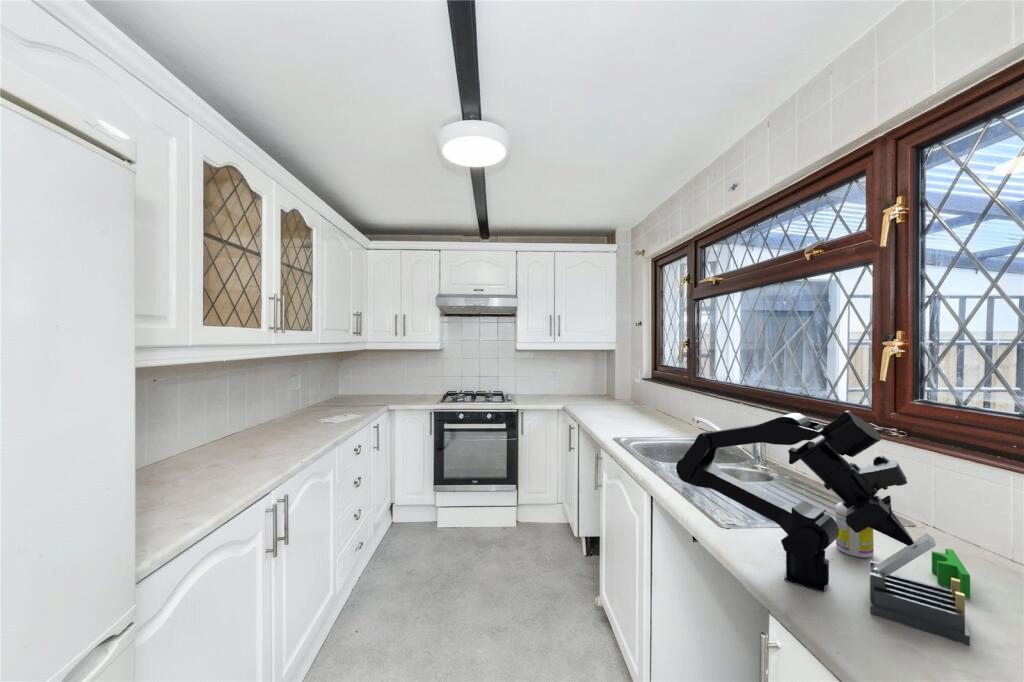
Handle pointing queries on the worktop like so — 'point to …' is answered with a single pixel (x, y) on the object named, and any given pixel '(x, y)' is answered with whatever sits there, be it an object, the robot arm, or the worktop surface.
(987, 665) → the worktop surface
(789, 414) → the robot arm
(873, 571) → the silver metal bar
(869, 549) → the supplement bottle
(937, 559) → the pipe clamp
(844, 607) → the worktop surface
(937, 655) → the worktop surface
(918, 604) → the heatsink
